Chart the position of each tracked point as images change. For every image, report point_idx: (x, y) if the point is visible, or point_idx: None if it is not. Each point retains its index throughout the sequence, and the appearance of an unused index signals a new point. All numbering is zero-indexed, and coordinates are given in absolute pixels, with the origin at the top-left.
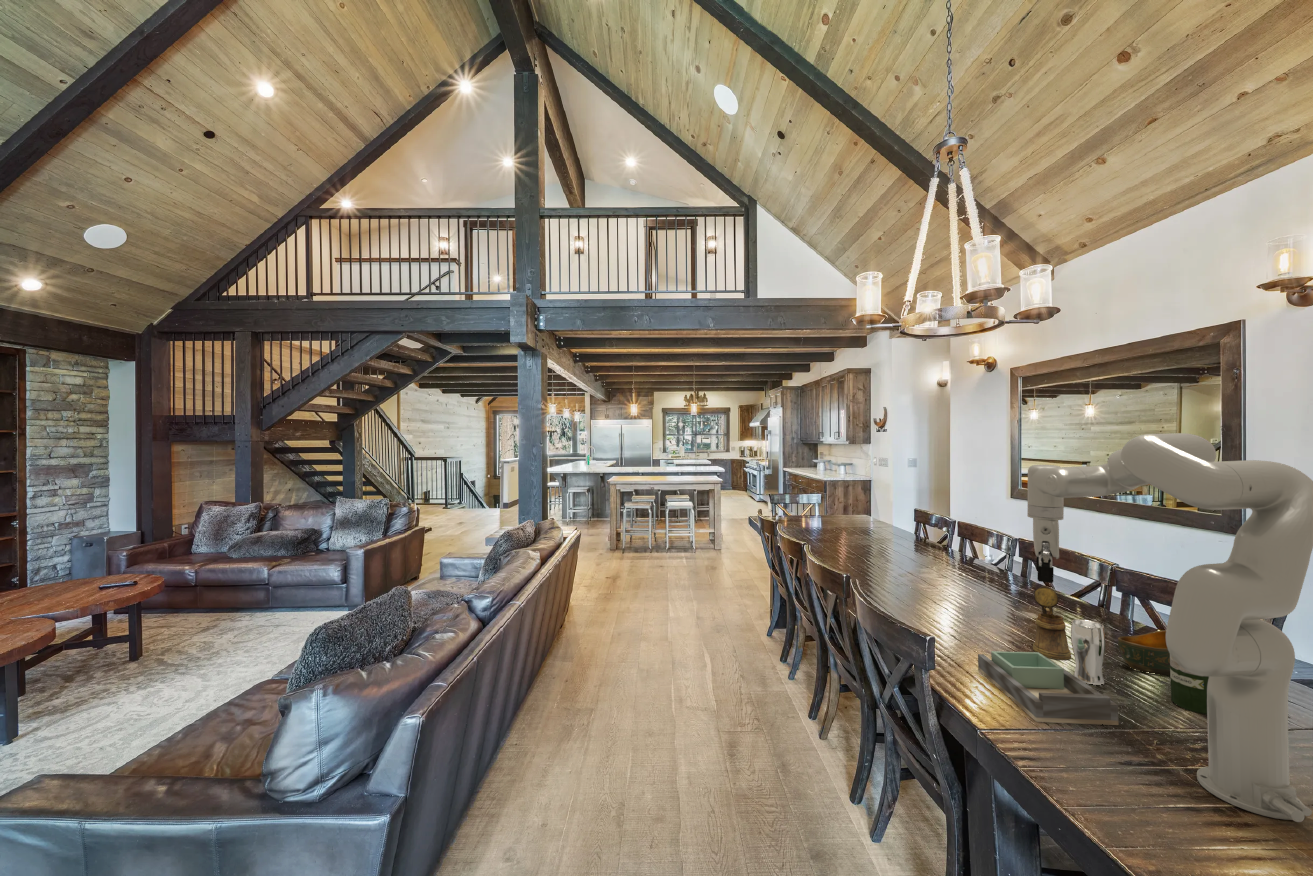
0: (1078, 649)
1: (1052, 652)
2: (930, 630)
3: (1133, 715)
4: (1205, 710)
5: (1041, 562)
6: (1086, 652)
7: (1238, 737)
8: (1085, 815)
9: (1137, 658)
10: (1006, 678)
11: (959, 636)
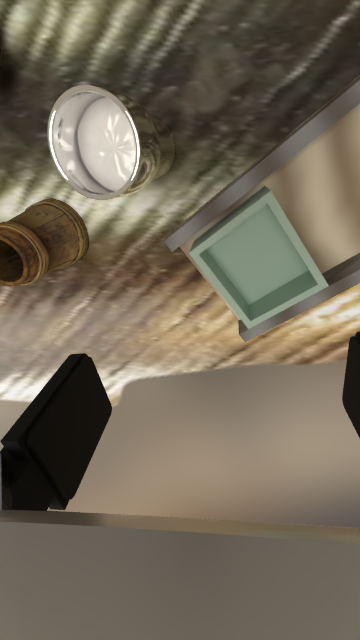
0: (157, 170)
1: (77, 232)
2: (117, 398)
3: (304, 23)
4: None
5: (77, 449)
6: (162, 148)
7: None
8: None
9: None
10: (352, 285)
11: (107, 365)
